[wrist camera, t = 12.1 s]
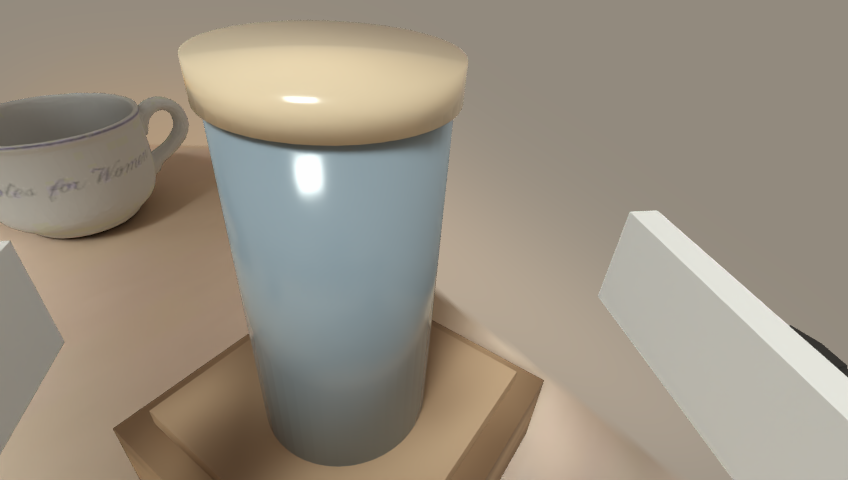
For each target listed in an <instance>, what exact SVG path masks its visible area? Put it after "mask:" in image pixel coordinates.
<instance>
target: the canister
mask: <svg viewBox="0 0 848 480" xmlns="http://www.w3.org/2000/svg"><path fill="white" fill-rule="evenodd" d="M178 57H179V61H180V66H181V70H182V74H183V79H184V83H185V87H186V91H187V96H188V101H189V104H190V106H191V109H192V110H193V111H194V112H195V113H196V114H197V115H198V116H199V117H200V118H202V119H203V123H204V128H205V132H206V137H207V141H208V146H209V151H210V155H211V160H212V165H213V169H214V174H215V178H216V183H217V188H218V192H219V197H220V202H221V206H222V211H223V216H224V220H225V225H226V229H227V234H228V239H229V243H230V248H231V253H232V257H233V262H234V266H235V271H236V276H237V280H238V285H239V290H240V294H241V299H242V304H243V308H244V313H245V317H246V322H247V327H248V331H249V336H250V341H251V345H252V350H253V354H254V359H255V364H256V368H257V373H258V378H259V382H260V387H261V392H262V396H263V401H264V405H265V410H266V415H267V419H268V422H269V425H270V428H271V430H272V432H273V434H274V435H275V437H276V438H277V439H278V441H279V442H280V443H281V444H282V445H283V446H284V447H285V448H286V449H287V450H288V451H290V452H291V453H293V454H294V455H295V456H297V457H299V458H301V459H303V460H305V461H308V462H311V463H314V464H319V465H324V466H336V467H341V466H352V465H357V464H362V463H365V462H368V461H371V460H374V459H376V458H378V457H380V456H382V455H384V454H386V453H387V452H389V451H391V450H392V449H394V448H395V447H396V446H397V445H398V444H400V443H401V442H402V441H403V440H404V439H405V438H406V436H407V435H408V434H409V433H410V432H411V430H412V429H413V427H414V426H415V424H416V422H417V420H418V418H419V415H420V412H421V409H422V404H423V397H424V387H425V378H426V369H427V359H428V350H429V341H430V331H431V322H432V312H433V303H434V294H435V284H436V274H437V266H438V256H439V247H440V246H439V245H440V237H441V228H442V219H443V209H444V199H445V191H446V181H447V172H448V163H449V153H450V143H451V134H452V125H453V119H454V118H455V117H456V116H457V115H458V114H459V113H460V111H461V110H462V106H463V100H464V92H465V83H466V74H467V66H468V59H467V55H466V54H465V53H464V52H463V51H462V50H461V49H460V48H459V47H457V46H455V45H453V44H452V43H450V42H447V41H445V40H443V39H440V38H437V37H434V36H431V35H427V34H424V33H420V32H416V31H412V30H407V29H402V28H396V27H390V26H383V25H376V24H367V23H357V22H344V21H319V20H294V21H271V22H259V23H250V24H242V25H235V26H230V27H224V28H220V29H215V30H212V31H208V32H205V33H202V34H200V35H197V36H194V37H192V38H190V39H188V40H187V41H185V42H184V43H183V44H182V45H181V46H180V48H179V49H178Z"/></svg>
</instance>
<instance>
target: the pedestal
mask: <svg viewBox="0 0 848 480" xmlns="http://www.w3.org/2000/svg"><path fill="white" fill-rule="evenodd" d="M543 382H544V380H542V379H540V378H538V377H537V376H535V375H533V374H531V373H529V372H527V371H525V370H524V369H522V368H520V367H518V366H516V365H514V364H512V363H511V362H509V361H507V360H505V359H503V358H501V357H499V356H498V355H496V354H494V353H492V352H490V351H488V350H486V349H485V348H483V347H481V346H479V345H477V344H475V343H474V342H472V341H470V340H468V339H466V338H464V337H462V336H461V335H459V334H457V333H455V332H453V331H451V330H449V329H448V328H446V327H444V326H442V325H440V324H438V323H436V322H435V321H433V320H432V322H431V331H430V341H429V350H428V359H427V369H426V378H425V387H424V397H423V404H422V409H421V412H420V415H419V418H418V420H417V422H416V424H415V426H414V427H413V429H412V430H411V432H410V433H409V434H408V435H407V436H406V438H405V439H404V440H403V441H402V442H401V443H400V444H398V445H397V446H396V447H395V448H394V449H392V450H391V451H389V452H387V453H386V454H384V455H382V456H380V457H378V458H376V459H374V460H371V461H368V462H365V463H362V464H357V465H352V466H341V467H336V466H324V465H319V464H314V463H311V462H308V461H305V460H303V459H301V458H299V457H297V456H295V455H294V454H293V453H291V452H290V451H288V450H287V449H286V448H285V447H284V446H283V445H282V444H281V443H280V442H279V441H278V439H277V438H276V437H275V435H274V434H273V432H272V430H271V428H270V425H269V422H268V419H267V415H266V410H265V405H264V401H263V396H262V392H261V387H260V382H259V378H258V373H257V368H256V364H255V359H254V354H253V350H252V345H251V341H250V336H249V334H248V335H246V336H245V337H243V338H242V339H240V340H239V341H237V342H236V343H235V344H233V345H232V346H230V347H229V348H227V349H226V350H225V351H223V352H222V353H220V354H219V355H217V356H216V357H215V358H213V359H212V360H210V361H209V362H207V363H206V364H205V365H203V366H202V367H200V368H199V369H197V370H196V371H195V372H193V373H192V374H190V375H189V376H187V377H186V378H185V379H183V380H182V381H180V382H179V383H177V384H176V385H175V386H173V387H172V388H170V389H169V390H167V391H166V392H165V393H163V394H162V395H160V396H159V397H157V398H156V399H155V400H153V401H152V402H150V403H149V404H147V405H146V406H145V407H143V408H142V409H140V410H139V411H137V412H136V413H135V414H133V415H132V416H130V417H129V418H127V419H126V420H124V421H123V422H122V423H120V424H119V425H117V426H116V427H114V428H113V430H114V432H115V434H116V436H117V437H118V439H119V441H120V443H121V445H122V447H123V449H124V451H125V452H126V454H127V456H128V458H129V460H130V462H131V464H132V466H133V467H134V469H135V471H136V473H137V475H138V477H139V479H140V480H500V479H501V477H502V475H503V473H504V471H505V470H506V468H507V466H508V464H509V463H510V461H511V459H512V457H513V455H514V454H515V452H516V450H517V448H518V447H519V445H520V443H521V441H522V439H523V438H524V436H525V434H526V432H527V429H528V426H529V423H530V420H531V417H532V414H533V411H534V408H535V405H536V402H537V399H538V396H539V393H540V390H541V388H542V385H543Z"/></svg>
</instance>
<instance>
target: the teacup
mask: <svg viewBox="0 0 848 480" xmlns="http://www.w3.org/2000/svg"><path fill="white" fill-rule="evenodd" d="M159 110H166V111H167V112H169V113H170V114H171V116H172V119H173V128H172V131H171V133H170V135H169V136H168V137H167V139H166V140H165V141H164V142H163V143H162V144H161V145H160V146H159V147H157V148H156V149H155V150H153V151H152V152H151V150H150V147H149V143H148V140H147V137H146V135H147V134H148V124H149V119H150V118H151V116H152V115H153V114H154V113H155V112H157V111H159ZM188 125H189V123H188V118H187V116H186V114H185V112H184V110H183V109H182V107H181V106H180V105H179V104H177V103H176V102H174V101H173V100H171V99H168V98H165V97H151V98H148V99H146V100H144V101H142V102H141V103H140V104H139V105H137V104H136V102H135V101H133V100H132V99H129V98H127V97H124V96H119V95H115V94H106V93H71V94H58V95H46V96H38V97H31V98H25V99H20V100H15V101H10V102H6V103H1V104H0V222H1V223H3V224H4V225H6V226H8V227H10V228H13V229H16V230H19V231H23V232H28V233H34V234H38V235H41V236H45V237H51V238H74V237H81V236H87V235H91V234H95V233H99V232H102V231H105V230H108V229H111V228H113V227H116V226H118V225H120V224H122V223H124V222H125V221H127V220H128V219H130V218H131V217H132V216H133V215H135V214H136V212H137V211H138V210H139V209H140V207H141V205H142V204H143V203H144V202H145V201H146V200H147V199H148V198H149V197H150V195H151V194H152V192H153V189H154V187H155V182H156V174H157V173H158V172H159V171H160V170H161V167H162V164H163V163H164V161H166V160H167V159H168V158H169V157H170V156H171V155H172V154H173V153H174V152H175V151H176V150H177V149H178V148H179V147H180V145H181V144H182V143H183V141H184V140H185V138H186V135H187V132H188Z"/></svg>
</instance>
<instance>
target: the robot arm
mask: <svg viewBox="0 0 848 480" xmlns="http://www.w3.org/2000/svg"><path fill="white" fill-rule="evenodd" d="M598 297H599V299H600V300H601V301H602V303H603V304H604V305H605V307H606V308H607V309H608V311H609V312H610V314H611V315H612V316H613V318H614V319H615V320H616V322H617V323H618V324H619V326H620V327H621V328H622V330H623V331H624V333H625V334H626V335H627V336H628V338H629V339H630V341H631V342H632V343H633V345H634V346H635V348H636V349H637V350H638V352H639V353H640V354H641V356H642V357H643V358H644V360H645V361H646V362H647V364H648V365H649V367H650V368H651V369H652V370H653V372H654V373H655V375H656V376H657V377H658V379H659V380H660V382H662V384H663V385H664V387H665V388H666V390H667V391H668V392H669V394H670V395H671V396H672V398H673V399H674V400H675V402H676V403H677V405H678V406H679V407H680V409H681V410H682V411H683V413H684V414H685V415H686V417H687V418H688V420H689V421H690V422H691V423H692V425H693V426H694V428H695V429H696V430H697V432H698V433H699V435H700V436H701V437H702V439H703V440H704V441H705V443H706V444H707V445H708V447H709V448H710V450H711V451H712V452H713V454H714V455H715V456H716V458H717V459H718V460H719V462H720V463H721V464H722V466H723V467H724V469H725V470H726V471H727V473H728V474H729V475H730V477H731V478H732V479H733V480H848V369H847V365H846V364H845V363H843V362H842V361H841V360H840V359H839V358H838V357H837V356H835V355H834V354H833V353H832V352H831V351H830V350H828V349H827V348H826V347H825V346H824V345H822V344H821V343H820V342H818V341H816V340H815V339H813V338H811V337H809V336H808V335H806V334H804V333H803V332H801V331H799V330H798V329H796V328H794V327H793V326H791V325H790V326H789V325H787V324H786V323H785V322H784V321H783V320H782V319H781V318H779V317H778V316H777V315H776V314H775V313H774V312H773V311H771V310H770V309H769V308H768V307H767V306H766V305H765V304H763V303H762V302H761V301H760V300H759V299H758V298H757V297H755V296H754V295H753V294H752V293H751V292H749V290H747V289H746V288H745V287H744V286H743V285H742V284H741V283H739V282H738V281H737V280H736V279H735V278H734V277H733V276H732V275H730V274H729V273H728V272H727V271H726V270H725V269H724V268H722V267H721V266H720V265H719V264H718V263H717V262H716V261H714V260H713V259H712V258H711V257H710V256H709V255H708V254H706V253H705V252H704V251H703V250H702V249H701V248H700V247H698V246H697V245H696V244H695V243H694V242H693V241H692V240H690V239H689V238H688V237H687V236H686V235H685V234H684V233H682V232H681V231H680V230H679V229H678V228H677V227H676V226H674V225H673V224H672V223H671V222H670V221H669V220H668V219H666V218H665V217H664V216H663V215H662V214H661V213H660V212H658V211H636V212H630V213H629V215H628V218H627V221H626V223H625V226H624V228H623V231H622V234H621V236H620V239H619V242H618V244H617V247H616V250H615V252H614V255H613V258H612V260H611V263H610V266H609V268H608V271H607V274H606V276H605V279H604V281H603V284H602V287H601V290H600V292H599V295H598ZM63 344H64V340H63V338H62V336H61V334H60V333H59V331H58V329H57V327H56V325H55V323H54V321H53V320H52V318H51V316H50V314H49V312H48V310H47V308H46V307H45V305H44V303H43V301H42V299H41V297H40V295H39V294H38V292H37V290H36V288H35V286H34V284H33V282H32V281H31V279H30V277H29V275H28V273H27V271H26V269H25V268H24V266H23V264H22V262H21V260H20V258H19V256H18V255H17V253H16V251H15V249H14V247H13V245H12V243H11V241H0V454H1V452H2V450H3V449H4V447H5V445H6V443H7V442H8V440H9V438H10V436H11V435H12V433H13V431H14V429H15V428H16V426H17V424H18V422H19V421H20V419H21V417H22V415H23V414H24V412H25V410H26V408H27V407H28V405H29V403H30V401H31V400H32V398H33V396H34V394H35V393H36V391H37V389H38V387H39V386H40V384H41V382H42V380H43V379H44V377H45V375H46V373H47V372H48V370H49V368H50V367H51V365H52V363H53V361H54V360H55V358H56V356H57V354H58V353H59V351H60V349H61V347H62V346H63Z"/></svg>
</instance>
